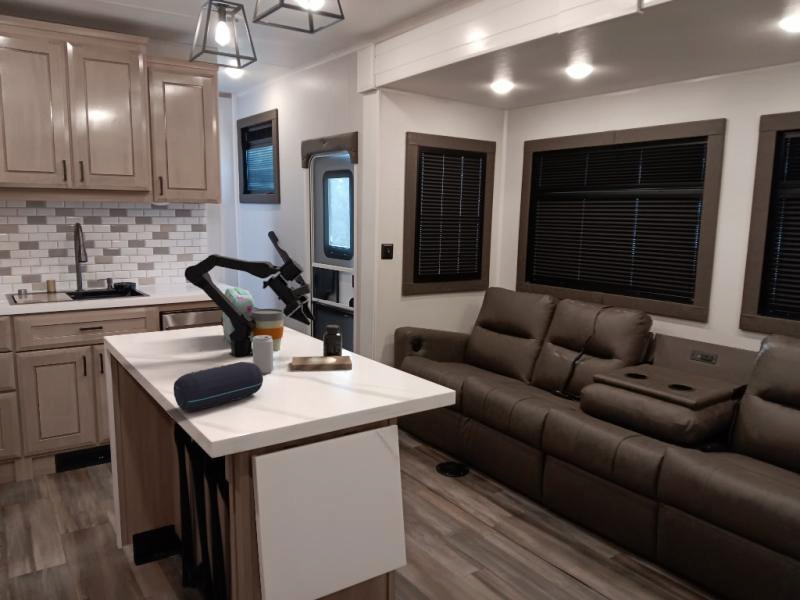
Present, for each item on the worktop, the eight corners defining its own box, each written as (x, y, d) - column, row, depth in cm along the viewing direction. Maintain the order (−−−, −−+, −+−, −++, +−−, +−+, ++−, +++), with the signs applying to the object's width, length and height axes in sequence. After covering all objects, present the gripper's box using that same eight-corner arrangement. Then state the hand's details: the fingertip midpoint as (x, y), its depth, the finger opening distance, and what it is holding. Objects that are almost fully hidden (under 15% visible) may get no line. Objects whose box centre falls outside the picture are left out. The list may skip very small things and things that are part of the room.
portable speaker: (245, 389, 173) (245, 356, 172) (267, 396, 167) (266, 362, 166) (166, 410, 154) (165, 373, 152) (187, 418, 148) (186, 380, 146)
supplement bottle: (319, 358, 211) (319, 326, 209) (330, 355, 217) (330, 323, 215) (335, 361, 208) (335, 328, 206) (345, 357, 214) (345, 325, 212)
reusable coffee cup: (288, 346, 229) (288, 309, 227) (279, 354, 216) (278, 314, 214) (257, 345, 230) (257, 307, 228) (246, 352, 218) (245, 313, 215)
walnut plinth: (292, 370, 194) (292, 364, 194) (292, 362, 205) (292, 356, 205) (351, 369, 198) (352, 363, 197) (349, 361, 208) (349, 355, 208)
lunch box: (220, 334, 249) (219, 284, 246) (244, 332, 254) (244, 283, 250) (230, 347, 225) (229, 292, 222) (257, 345, 230) (256, 291, 227)
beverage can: (268, 375, 188) (267, 339, 186) (249, 374, 189) (249, 337, 188) (276, 370, 194) (276, 335, 192) (258, 369, 195) (257, 334, 194)
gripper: (294, 278, 200) (324, 312, 202) (304, 272, 219) (331, 304, 220) (270, 299, 201) (300, 332, 203) (282, 292, 220) (310, 322, 221)
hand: (311, 322), depth 212 cm, fingers open, 9 cm apart
